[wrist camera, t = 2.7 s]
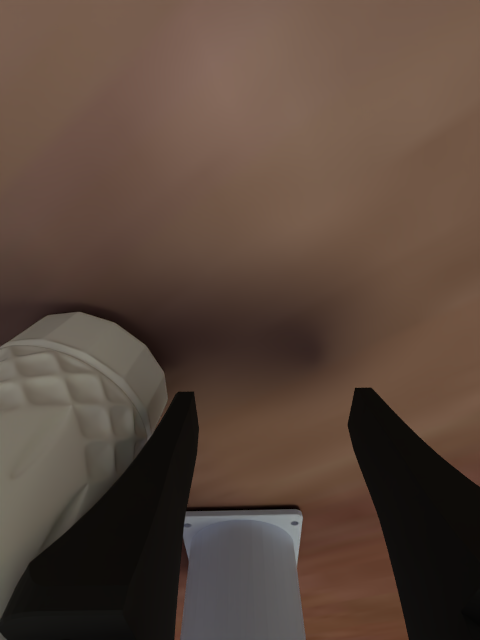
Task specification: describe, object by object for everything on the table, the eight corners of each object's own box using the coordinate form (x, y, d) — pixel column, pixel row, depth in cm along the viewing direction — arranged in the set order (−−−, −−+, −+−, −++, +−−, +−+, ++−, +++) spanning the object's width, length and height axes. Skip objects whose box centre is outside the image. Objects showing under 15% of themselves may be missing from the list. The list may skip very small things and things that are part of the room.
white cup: (-4, 369, 16) (-337, 637, 8) (51, 257, 12) (-494, 555, 4) (130, 454, 18) (-28, 750, 10) (217, 380, 14) (76, 771, 6)
